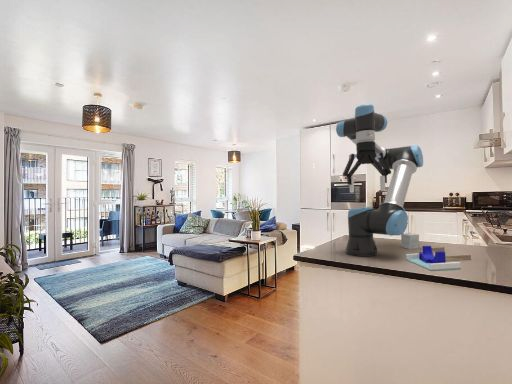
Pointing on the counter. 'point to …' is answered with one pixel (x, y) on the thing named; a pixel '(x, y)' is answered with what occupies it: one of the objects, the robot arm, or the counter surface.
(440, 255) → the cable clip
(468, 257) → the upper dock
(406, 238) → the grey block
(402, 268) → the counter surface
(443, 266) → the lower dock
